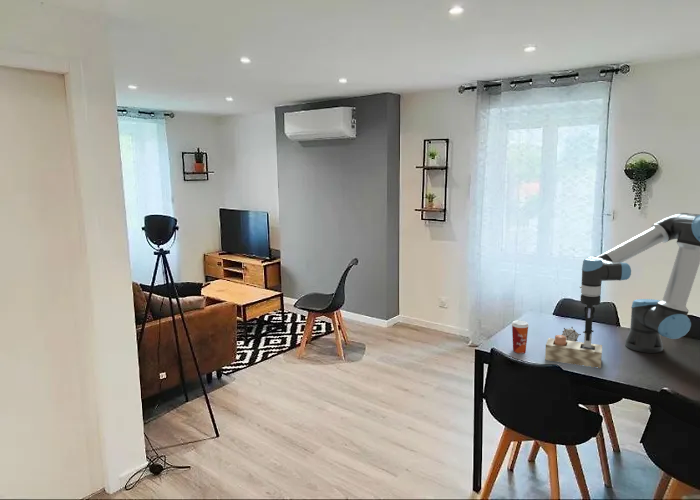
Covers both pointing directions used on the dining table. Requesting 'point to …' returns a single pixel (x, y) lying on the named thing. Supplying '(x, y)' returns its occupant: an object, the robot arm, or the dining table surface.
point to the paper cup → (519, 336)
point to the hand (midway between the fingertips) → (587, 346)
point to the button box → (573, 353)
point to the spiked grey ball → (570, 334)
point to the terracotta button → (560, 340)
